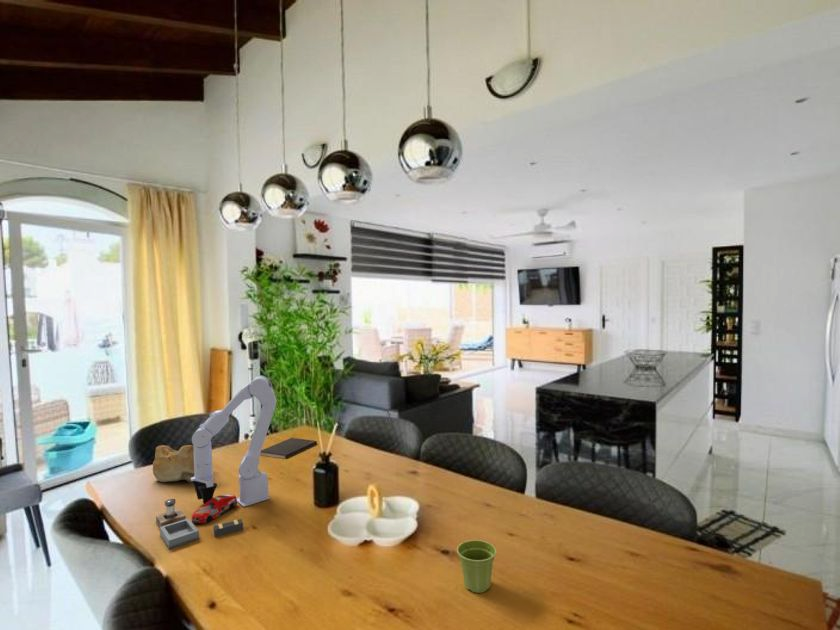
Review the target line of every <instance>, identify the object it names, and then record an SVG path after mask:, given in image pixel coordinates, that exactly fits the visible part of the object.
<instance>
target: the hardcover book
mask: <svg viewBox="0 0 840 630" xmlns="http://www.w3.org/2000/svg"><path fill="white" fill-rule="evenodd" d="M316 445H318V441H317V440H314V439H305V438H297V437H290V438H288V439H286V440H285V439H284V440H283V441H280V442H278V443H275V444H274V445H271V446H268V447H266V448H264V449H263V448H262V449H261V453H260V456H265V457H270V458H271V457H272V458H278V459H284V460H286V459H289V458H291V457H293V456H295V455H297V454H299V453H302V452H303V451H306V450H308V449H310V448H312V447H314V446H316Z"/></svg>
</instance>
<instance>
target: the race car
mask: <svg viewBox="0 0 840 630" xmlns="http://www.w3.org/2000/svg"><path fill="white" fill-rule="evenodd" d="M236 498H237V497H236V495H235V494H228V493H227V494H223V495H221V494H220V495H217V496H213V498H212V499H210V500H209V501H207V502H206V503H205V504H203V503H202V504H201V507H199V508H198V509H197V510H196V511H194V512H193V513H192V515H191V522H192V523H193V524H209V523H212V520H215V519H216V518H218V517H221V515H223V514H225V513H227V512H228V511H231V510H233V509H234V508H235V507H236V506H237V504H238V502H237V499H236Z"/></svg>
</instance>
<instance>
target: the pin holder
mask: <svg viewBox="0 0 840 630" xmlns="http://www.w3.org/2000/svg"><path fill="white" fill-rule="evenodd" d="M185 519H187V518H186V514H185V513H184V512H183V511H182V510H181V509H180V508H177V509H175V517H172V518H169V519H166V512H163V513H159V514H157V515H155V523H156V524H157V526H158V528H160V527H162V526H165V525H168V524H172V523H175V522H178V521H181V520H185Z"/></svg>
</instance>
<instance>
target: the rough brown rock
mask: <svg viewBox="0 0 840 630" xmlns="http://www.w3.org/2000/svg"><path fill="white" fill-rule="evenodd" d="M152 474H153V476H154V478H155V479H156V480H157V481H159V482H160V483H167V482H179V481H181V480H182V481H187V482H188V483H190V482H191V478H192V477H194V445H192V444H188V445H182V446H181V447H180V448H179V449H178V450H176V449H173V448H172V447H171V446H170V445H163V444H162V445H158V446H156V447H155V453H154V460H153V462H152Z"/></svg>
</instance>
